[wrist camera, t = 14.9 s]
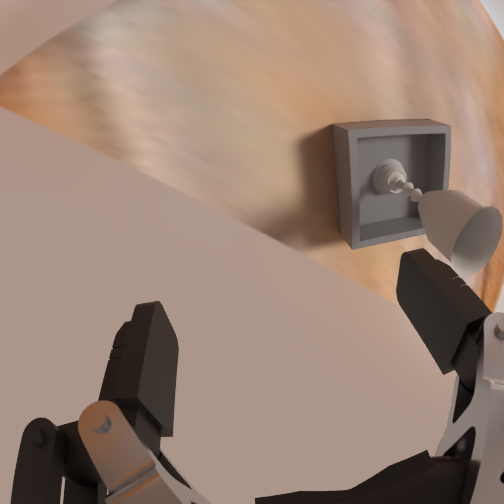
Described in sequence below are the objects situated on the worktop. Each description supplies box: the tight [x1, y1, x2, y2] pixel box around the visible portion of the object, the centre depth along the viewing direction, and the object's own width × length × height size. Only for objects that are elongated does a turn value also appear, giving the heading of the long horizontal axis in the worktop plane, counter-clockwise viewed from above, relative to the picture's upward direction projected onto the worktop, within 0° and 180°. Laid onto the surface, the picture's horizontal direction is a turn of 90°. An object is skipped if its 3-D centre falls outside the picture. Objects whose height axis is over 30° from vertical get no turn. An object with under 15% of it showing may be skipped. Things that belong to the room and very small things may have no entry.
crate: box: [332, 119, 451, 250], centre depth 35 cm, size 15×15×5 cm
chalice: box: [373, 159, 503, 278], centre depth 28 cm, size 7×7×18 cm
